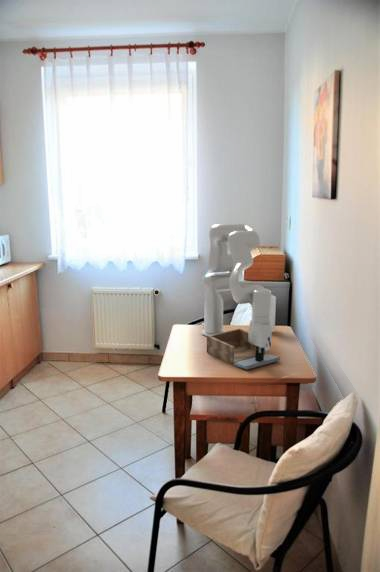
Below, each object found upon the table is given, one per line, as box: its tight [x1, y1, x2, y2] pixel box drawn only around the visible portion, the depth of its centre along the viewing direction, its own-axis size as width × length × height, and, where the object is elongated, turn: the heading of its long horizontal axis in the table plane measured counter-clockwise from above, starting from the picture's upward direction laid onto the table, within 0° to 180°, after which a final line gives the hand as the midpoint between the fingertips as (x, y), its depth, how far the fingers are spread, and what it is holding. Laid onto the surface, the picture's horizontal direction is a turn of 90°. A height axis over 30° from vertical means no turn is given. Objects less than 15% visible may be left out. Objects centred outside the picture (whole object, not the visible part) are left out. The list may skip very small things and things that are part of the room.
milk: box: [270, 290, 277, 333], centre depth 240 cm, size 6×6×22 cm
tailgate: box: [233, 353, 281, 370], centre depth 196 cm, size 1×19×8 cm
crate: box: [206, 328, 266, 365], centre depth 207 cm, size 18×19×8 cm
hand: (259, 360), depth 195 cm, fingers closed
